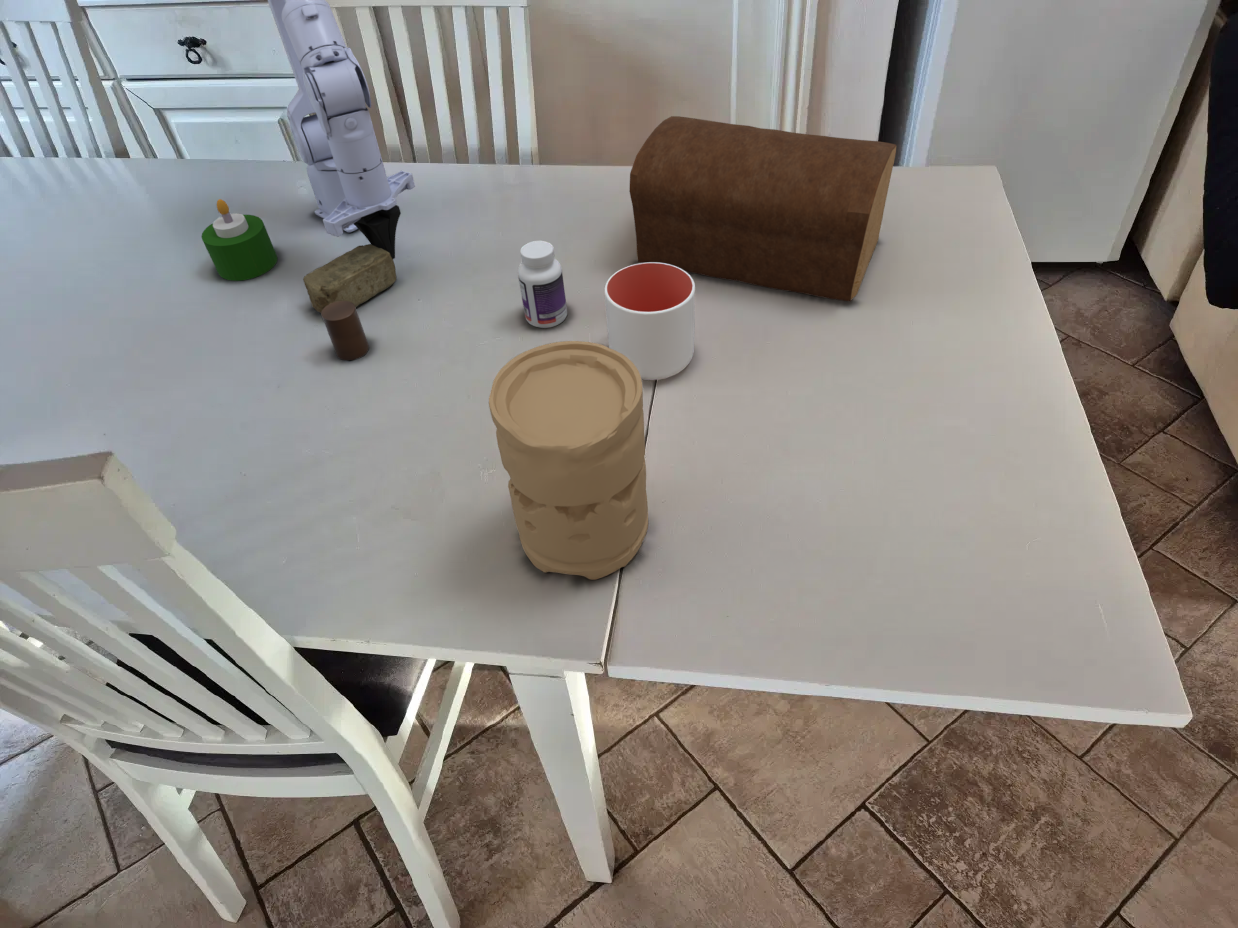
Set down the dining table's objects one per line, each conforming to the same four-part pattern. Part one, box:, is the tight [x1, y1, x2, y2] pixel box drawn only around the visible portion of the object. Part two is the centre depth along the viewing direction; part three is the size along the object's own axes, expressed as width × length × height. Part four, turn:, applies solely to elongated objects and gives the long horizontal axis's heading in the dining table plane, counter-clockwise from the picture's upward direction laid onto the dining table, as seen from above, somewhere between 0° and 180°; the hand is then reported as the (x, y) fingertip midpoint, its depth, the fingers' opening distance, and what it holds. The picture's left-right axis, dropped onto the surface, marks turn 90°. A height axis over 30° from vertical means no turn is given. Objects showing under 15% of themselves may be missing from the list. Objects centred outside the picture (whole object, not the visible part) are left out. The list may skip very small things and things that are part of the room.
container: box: [488, 340, 649, 581], centre depth 72 cm, size 13×13×18 cm
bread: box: [629, 115, 897, 302], centre depth 105 cm, size 18×30×16 cm, turn 67°
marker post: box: [320, 301, 370, 361], centre depth 98 cm, size 4×4×6 cm
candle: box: [201, 198, 278, 282], centre depth 112 cm, size 8×8×10 cm
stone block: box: [302, 243, 397, 314], centre depth 107 cm, size 6×12×5 cm, turn 141°
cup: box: [603, 262, 696, 381], centre depth 93 cm, size 10×10×10 cm
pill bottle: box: [517, 240, 568, 329], centre depth 100 cm, size 5×5×10 cm
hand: (387, 258), depth 112 cm, fingers closed
